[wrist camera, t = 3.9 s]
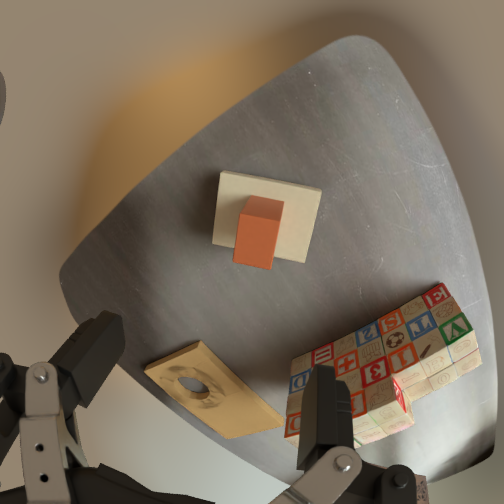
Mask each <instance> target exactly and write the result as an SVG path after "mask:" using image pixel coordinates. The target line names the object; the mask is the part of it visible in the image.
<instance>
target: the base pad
mask: <svg viewBox="0 0 504 504" xmlns="http://www.w3.org/2000/svg"><path fill="white" fill-rule="evenodd" d="M144 372H145V373H146V374H147V375H148V376H149V377H150V378H151V379H152V380H153V381H155V382H156V383H157V384H158V385H159V386H160V387H161V388H163V389H164V390H165V391H166V392H167V393H168V394H169V395H170V396H171V397H172V398H174V399H175V400H177V401H178V402H179V403H180V404H181V405H183V406H184V407H185V408H186V409H188V410H189V411H190V412H191V413H193V414H194V415H195V416H197V417H198V418H199V419H200V420H202V421H203V422H204V423H206V424H207V425H208V426H210V427H211V428H212V429H214V430H215V431H216V432H218V433H219V434H221V435H222V436H223V437H225V438H226V439H230V438H235V437H239V436H244V435H248V434H253V433H257V432H261V431H265V430H269V429H273V428H277V427H280V426H283V425H284V418H283V417H282V416H281V415H280V414H278V413H277V412H276V411H275V410H274V409H273V408H271V407H270V406H269V405H268V404H267V403H266V402H265V401H263V400H262V399H261V398H260V397H259V396H258V395H257V394H256V393H255V392H253V391H252V390H251V389H250V388H249V387H248V386H247V385H246V384H245V383H244V382H243V381H242V380H241V379H240V378H238V377H237V376H236V375H235V374H234V373H233V372H232V371H231V370H230V369H229V368H228V367H227V366H226V365H225V364H224V363H223V362H222V361H221V360H220V359H219V358H218V357H217V356H216V355H215V354H214V353H212V351H211V350H210V349H209V348H208V347H207V346H206V345H205V344H204V343H203V342H202V341H201V340H200V341H198V342H196V343H194V344H192V345H190V346H188V347H186V348H184V349H181V350H179V351H177V352H175V353H173V354H171V355H169V356H166V357H164V358H162V359H160V360H158V361H155V362H153V363H151V364H149V365H147V367H146V368H145V370H144ZM179 377H191V378H195V379H197V380H199V381H201V382H203V383H204V384H205V385H206V386H207V387H208V389H209V392H206V393H196V392H192V391H190V390H188V389H186V388H185V387H183V386H182V385H181V384H180V382H179V381H178V378H179Z"/></svg>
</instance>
